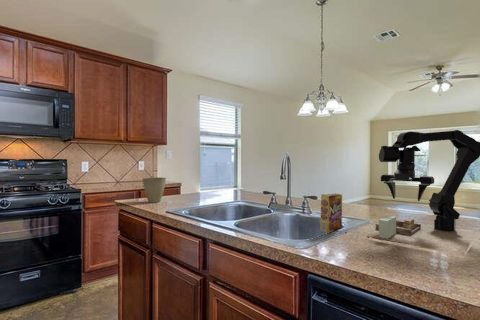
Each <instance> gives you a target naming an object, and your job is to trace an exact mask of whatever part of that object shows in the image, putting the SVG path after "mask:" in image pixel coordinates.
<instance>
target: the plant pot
mask: <svg viewBox="0 0 480 320" xmlns="http://www.w3.org/2000/svg"><path fill="white" fill-rule="evenodd" d="M166 178H167V177H158V176H157V177H142V184H143V188H144V193H145V196H146V198H147V202H148V203H152V204H154V203H160V202H161V200H162V198H163V196H164V195H163V194H164V191H165V186H166V182H167V181H166V180H167V179H166Z"/></svg>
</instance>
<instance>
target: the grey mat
mask: <svg viewBox="0 0 480 320" xmlns="http://www.w3.org/2000/svg"><path fill="white" fill-rule="evenodd" d="M367 237H368V238H370V236H368V235H367ZM371 238H373V239H375V237H373V236H371ZM376 239H379V240H380V237H376ZM382 240H383V241H385V238H382ZM387 241H390V242H391V240H388V239H387ZM392 242H393V243H396V241H394V240H392ZM397 243H398V244H401V242H399V241H397Z"/></svg>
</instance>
